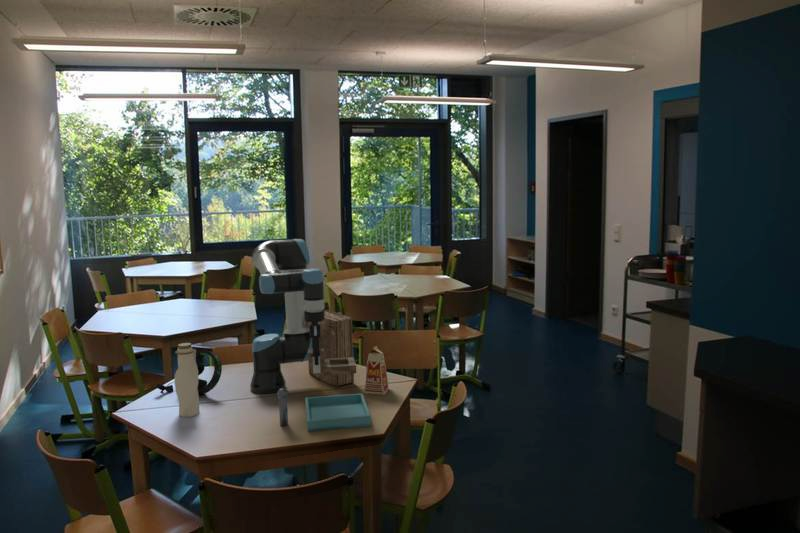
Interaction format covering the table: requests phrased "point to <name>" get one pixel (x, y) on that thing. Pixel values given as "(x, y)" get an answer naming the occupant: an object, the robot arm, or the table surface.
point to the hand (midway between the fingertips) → (316, 370)
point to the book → (335, 344)
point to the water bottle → (187, 381)
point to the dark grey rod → (283, 406)
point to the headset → (202, 384)
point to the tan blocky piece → (333, 364)
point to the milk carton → (376, 373)
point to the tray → (337, 412)
